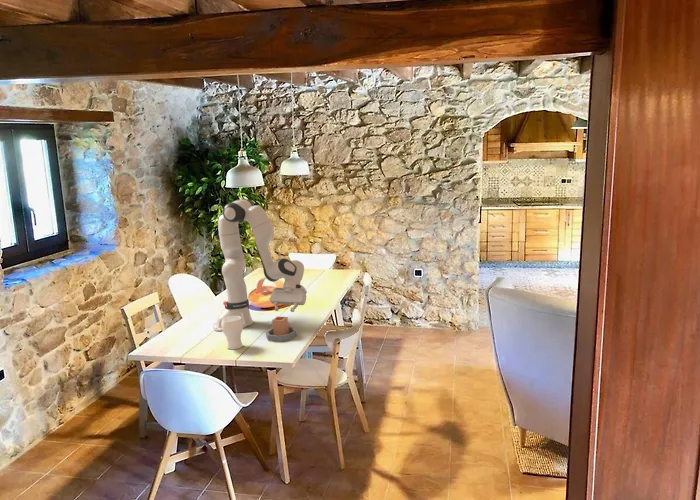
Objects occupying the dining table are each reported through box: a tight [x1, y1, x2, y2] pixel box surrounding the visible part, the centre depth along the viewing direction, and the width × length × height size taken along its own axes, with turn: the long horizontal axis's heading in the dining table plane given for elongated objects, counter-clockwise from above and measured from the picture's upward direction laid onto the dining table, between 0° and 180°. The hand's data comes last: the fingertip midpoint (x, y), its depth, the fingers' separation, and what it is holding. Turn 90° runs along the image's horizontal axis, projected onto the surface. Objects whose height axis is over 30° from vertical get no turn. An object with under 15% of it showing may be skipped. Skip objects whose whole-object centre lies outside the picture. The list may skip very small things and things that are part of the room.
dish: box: [265, 326, 298, 343], centre depth 304 cm, size 15×15×3 cm
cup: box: [221, 316, 244, 350], centre depth 293 cm, size 11×11×15 cm
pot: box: [271, 316, 290, 336], centre depth 304 cm, size 6×6×9 cm
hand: (284, 310), depth 308 cm, fingers open, 8 cm apart
